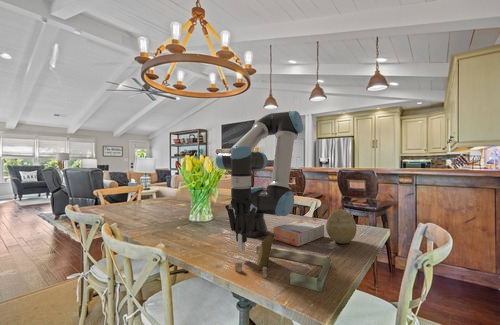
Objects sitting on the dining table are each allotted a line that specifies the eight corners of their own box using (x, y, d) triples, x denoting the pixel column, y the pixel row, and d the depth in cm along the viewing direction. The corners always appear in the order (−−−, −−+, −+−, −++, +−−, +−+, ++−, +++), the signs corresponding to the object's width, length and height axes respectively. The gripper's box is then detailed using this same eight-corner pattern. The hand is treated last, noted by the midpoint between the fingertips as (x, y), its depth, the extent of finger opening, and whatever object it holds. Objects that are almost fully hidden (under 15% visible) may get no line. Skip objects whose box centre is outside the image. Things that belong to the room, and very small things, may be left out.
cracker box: (301, 231, 124) (273, 239, 110) (301, 219, 124) (273, 226, 110) (324, 237, 113) (297, 247, 100) (324, 224, 113) (297, 233, 100)
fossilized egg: (356, 249, 97) (356, 213, 97) (324, 245, 102) (324, 210, 102) (356, 240, 109) (356, 207, 109) (327, 236, 114) (327, 205, 114)
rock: (271, 268, 76) (285, 253, 84) (256, 244, 78) (271, 233, 87) (251, 279, 82) (265, 264, 90) (237, 257, 84) (253, 245, 92)
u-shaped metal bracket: (235, 271, 79) (235, 262, 79) (257, 252, 95) (257, 244, 95) (321, 291, 67) (321, 281, 67) (330, 265, 83) (330, 257, 83)
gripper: (220, 187, 87) (221, 250, 88) (252, 189, 82) (252, 257, 82) (231, 185, 94) (231, 244, 94) (261, 187, 88) (261, 249, 89)
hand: (241, 250), depth 88 cm, fingers closed
